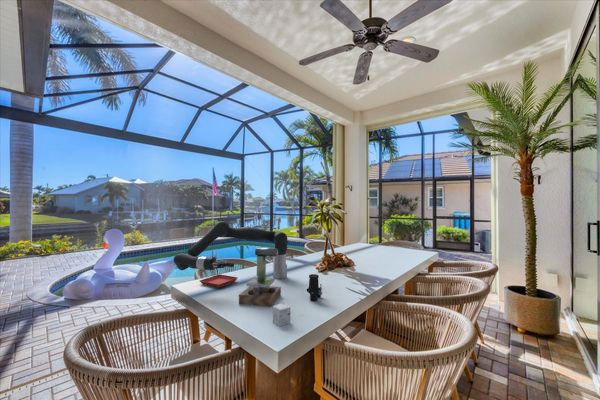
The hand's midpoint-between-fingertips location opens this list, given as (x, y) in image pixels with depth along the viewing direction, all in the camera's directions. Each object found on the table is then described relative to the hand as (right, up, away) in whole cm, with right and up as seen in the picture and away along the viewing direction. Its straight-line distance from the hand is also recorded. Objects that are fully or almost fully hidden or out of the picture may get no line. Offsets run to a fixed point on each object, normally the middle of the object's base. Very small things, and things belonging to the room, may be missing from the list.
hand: (233, 264), depth 151 cm
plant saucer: (-16, -19, +25) cm, 36 cm away
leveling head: (+18, -11, -4) cm, 21 cm away
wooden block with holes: (+16, -18, -4) cm, 25 cm away
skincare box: (+30, -19, -32) cm, 47 cm away
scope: (+46, -19, -3) cm, 50 cm away
